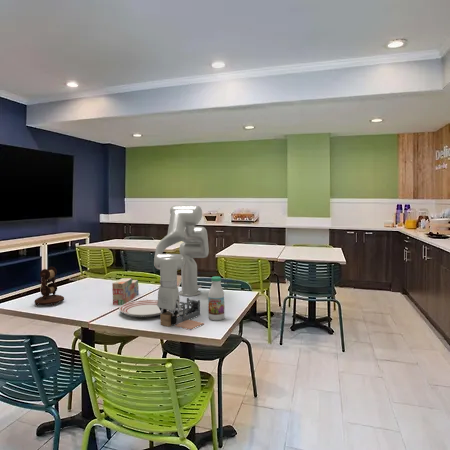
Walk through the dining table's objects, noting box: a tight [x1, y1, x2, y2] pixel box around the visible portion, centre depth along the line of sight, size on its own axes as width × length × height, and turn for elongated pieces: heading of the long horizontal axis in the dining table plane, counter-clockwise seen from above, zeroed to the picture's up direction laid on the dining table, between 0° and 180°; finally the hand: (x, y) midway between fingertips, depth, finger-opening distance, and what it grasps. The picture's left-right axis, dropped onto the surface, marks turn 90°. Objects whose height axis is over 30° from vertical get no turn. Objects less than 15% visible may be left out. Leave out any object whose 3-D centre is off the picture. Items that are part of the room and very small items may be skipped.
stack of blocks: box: [111, 277, 140, 306], centre depth 205 cm, size 21×6×12 cm, turn 171°
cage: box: [180, 297, 201, 322], centre depth 174 cm, size 12×8×8 cm, turn 145°
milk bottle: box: [207, 276, 225, 321], centre depth 172 cm, size 8×8×20 cm
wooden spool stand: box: [34, 266, 65, 307], centre depth 198 cm, size 15×15×20 cm
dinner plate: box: [118, 299, 171, 318], centre depth 183 cm, size 28×27×3 cm
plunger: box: [177, 299, 198, 319], centre depth 173 cm, size 18×5×6 cm, turn 145°
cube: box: [159, 311, 174, 328], centre depth 164 cm, size 5×5×5 cm
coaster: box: [175, 319, 205, 330], centre depth 163 cm, size 9×9×1 cm
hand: (169, 322), depth 165 cm, fingers closed on cube, 5 cm apart
